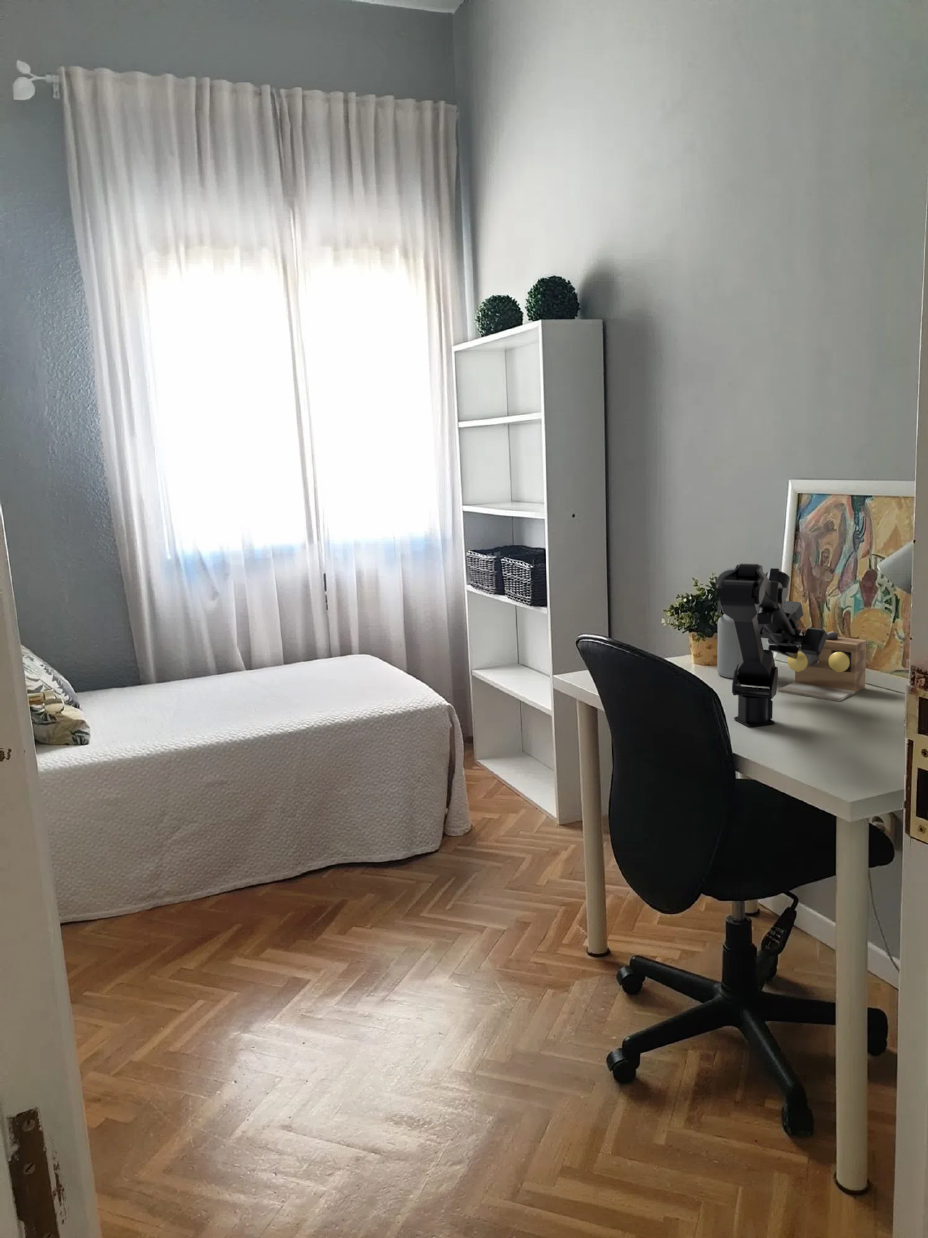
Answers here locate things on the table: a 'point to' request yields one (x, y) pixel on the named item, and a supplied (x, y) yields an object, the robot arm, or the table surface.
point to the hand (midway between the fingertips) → (795, 657)
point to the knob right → (840, 661)
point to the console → (832, 672)
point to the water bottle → (726, 640)
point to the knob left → (802, 661)
